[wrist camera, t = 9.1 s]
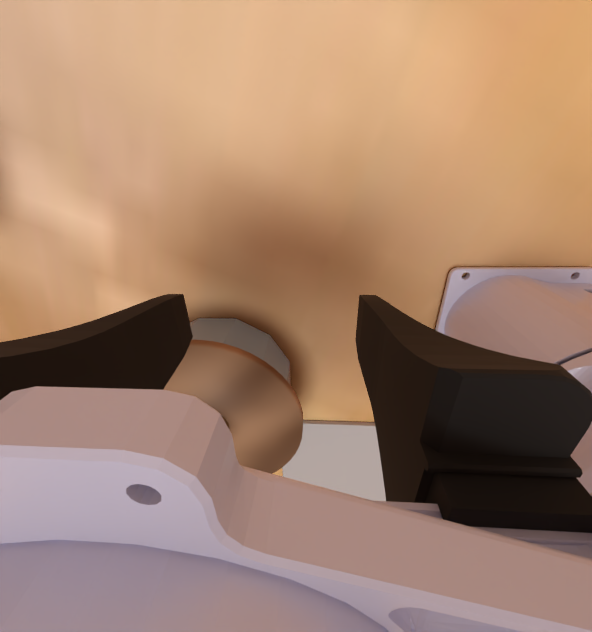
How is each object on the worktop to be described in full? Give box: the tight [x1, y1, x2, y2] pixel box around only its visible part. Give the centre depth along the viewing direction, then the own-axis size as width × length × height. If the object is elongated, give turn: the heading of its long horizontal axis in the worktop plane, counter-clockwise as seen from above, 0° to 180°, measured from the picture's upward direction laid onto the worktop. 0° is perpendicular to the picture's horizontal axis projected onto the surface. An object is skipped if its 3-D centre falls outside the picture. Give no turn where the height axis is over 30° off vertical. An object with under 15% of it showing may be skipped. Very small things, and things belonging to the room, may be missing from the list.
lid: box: [163, 340, 303, 474], centre depth 20 cm, size 14×14×4 cm
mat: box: [282, 420, 386, 501], centre depth 31 cm, size 17×17×1 cm
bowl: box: [190, 318, 291, 385], centre depth 24 cm, size 11×11×4 cm
